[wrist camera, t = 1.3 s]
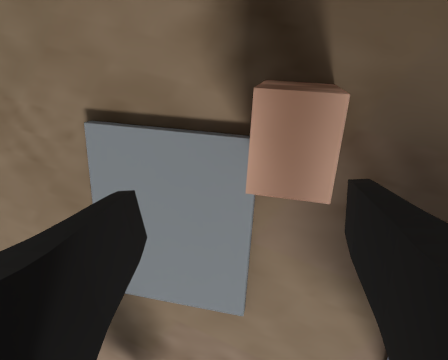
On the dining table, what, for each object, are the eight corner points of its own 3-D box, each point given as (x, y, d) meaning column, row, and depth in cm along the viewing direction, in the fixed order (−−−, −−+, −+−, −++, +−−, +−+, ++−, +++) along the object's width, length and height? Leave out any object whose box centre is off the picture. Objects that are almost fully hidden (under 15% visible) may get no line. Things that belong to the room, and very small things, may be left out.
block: (334, 84, 19) (350, 94, 13) (321, 165, 21) (330, 204, 15) (265, 79, 20) (253, 87, 14) (258, 158, 21) (245, 193, 16)
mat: (260, 136, 21) (259, 139, 20) (244, 309, 26) (243, 316, 25) (90, 120, 23) (84, 122, 22) (107, 282, 28) (101, 288, 27)
